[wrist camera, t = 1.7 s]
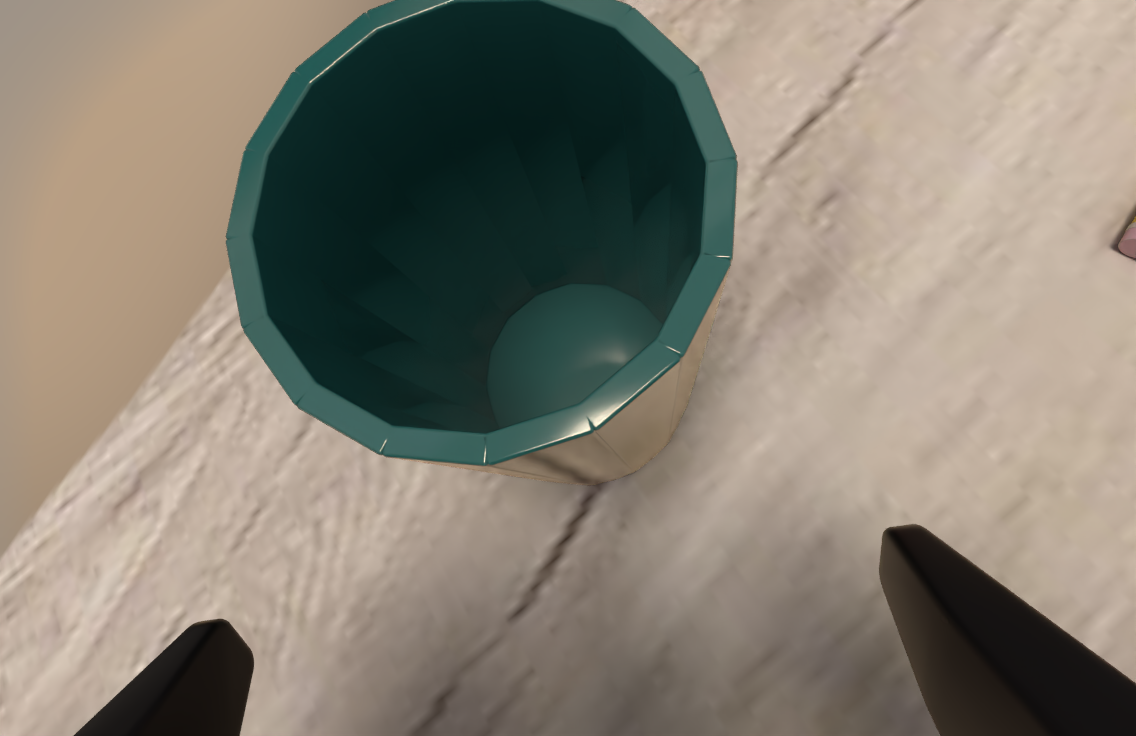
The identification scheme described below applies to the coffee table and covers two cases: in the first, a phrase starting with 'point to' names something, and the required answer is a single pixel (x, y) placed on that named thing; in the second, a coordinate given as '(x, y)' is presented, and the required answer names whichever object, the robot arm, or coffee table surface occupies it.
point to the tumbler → (489, 235)
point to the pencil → (1129, 240)
